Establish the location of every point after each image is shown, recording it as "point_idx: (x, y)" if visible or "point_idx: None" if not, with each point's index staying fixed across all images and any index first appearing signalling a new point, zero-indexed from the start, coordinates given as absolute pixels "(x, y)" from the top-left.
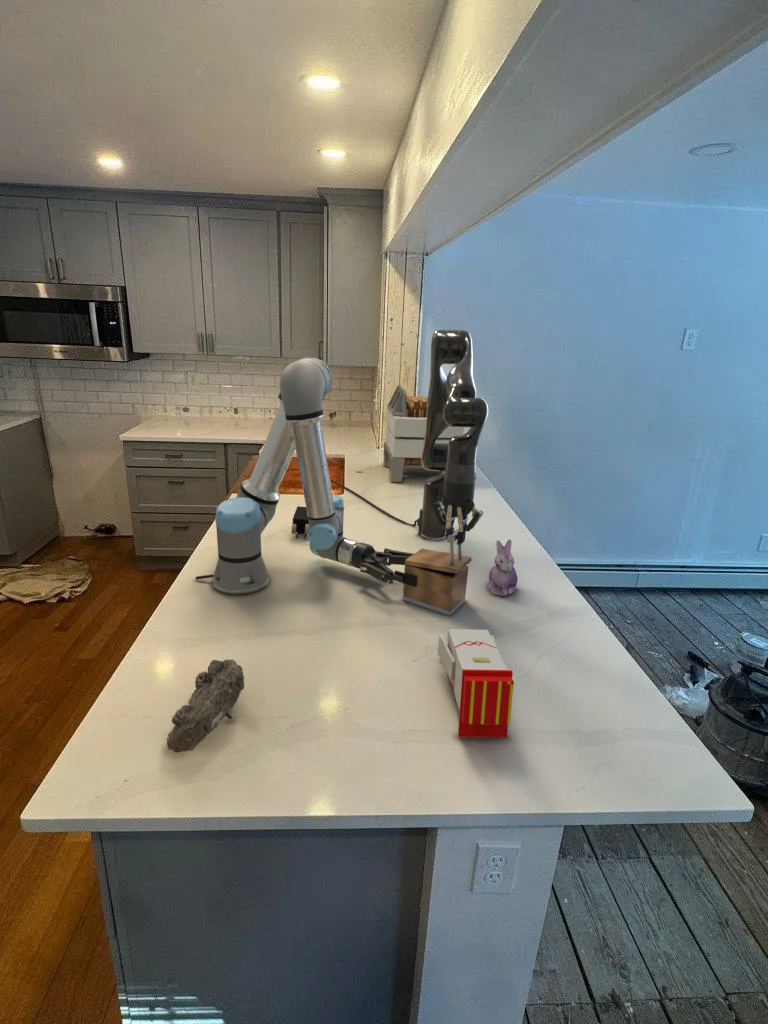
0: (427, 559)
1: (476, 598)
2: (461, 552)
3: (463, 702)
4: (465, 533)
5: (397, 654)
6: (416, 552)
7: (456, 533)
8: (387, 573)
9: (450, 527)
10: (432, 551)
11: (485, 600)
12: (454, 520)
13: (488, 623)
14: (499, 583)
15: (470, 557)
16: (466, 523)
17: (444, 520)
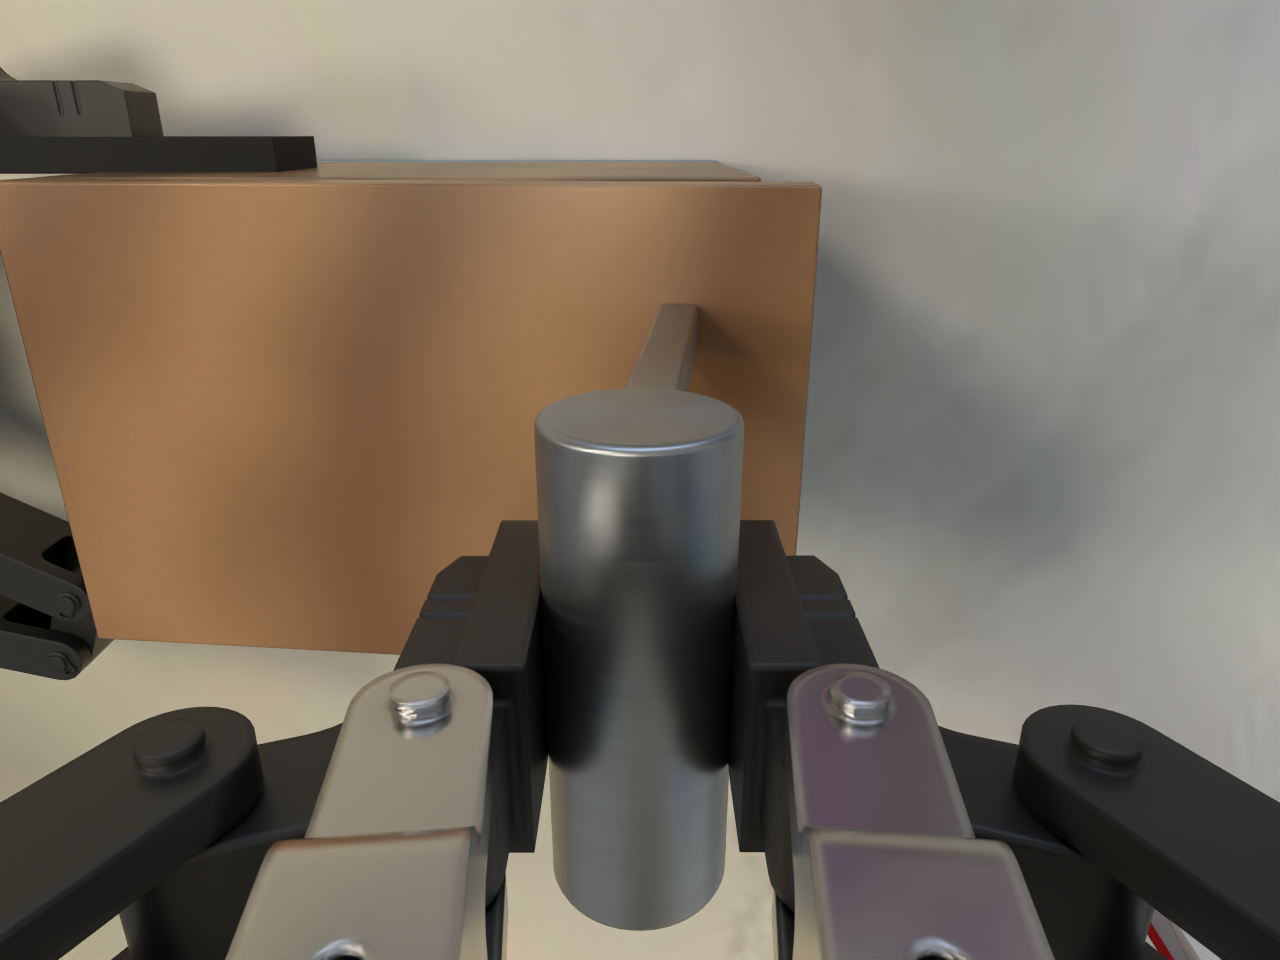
0: (311, 530)
1: (783, 36)
2: (694, 327)
3: None
4: (876, 665)
5: (637, 948)
6: (32, 361)
7: (687, 775)
8: (68, 652)
9: (502, 858)
10: (188, 232)
11: (869, 20)
12: (484, 813)
13: (995, 387)
14: None
15: (817, 233)
16: (957, 831)
17: (222, 954)
